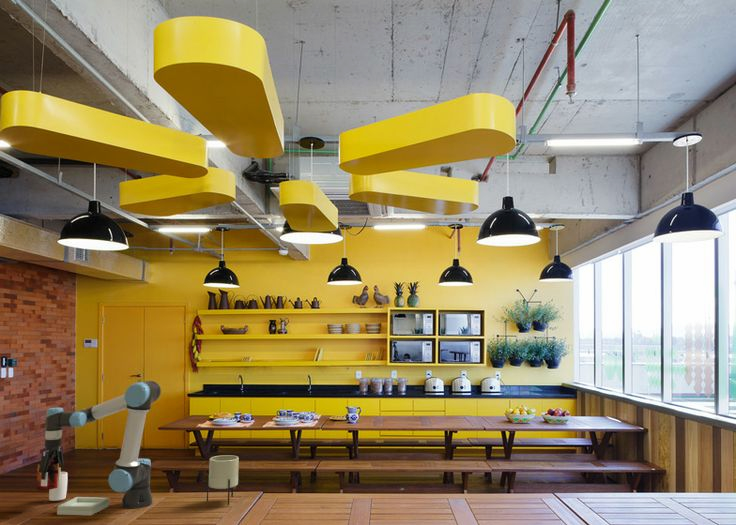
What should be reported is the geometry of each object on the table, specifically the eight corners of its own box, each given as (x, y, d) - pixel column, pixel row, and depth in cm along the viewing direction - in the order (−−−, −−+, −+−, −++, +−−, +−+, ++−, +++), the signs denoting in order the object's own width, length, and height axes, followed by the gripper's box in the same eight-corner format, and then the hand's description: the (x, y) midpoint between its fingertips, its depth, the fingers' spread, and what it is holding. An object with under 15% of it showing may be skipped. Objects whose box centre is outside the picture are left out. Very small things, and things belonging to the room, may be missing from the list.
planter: (243, 500, 304) (245, 456, 307) (225, 508, 290) (226, 462, 293) (221, 497, 310) (222, 453, 313) (201, 504, 296) (203, 459, 299)
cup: (44, 502, 298) (46, 474, 299) (55, 498, 306) (57, 471, 308) (58, 503, 296) (60, 475, 298) (69, 499, 304) (71, 471, 306)
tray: (109, 505, 293) (109, 497, 293) (92, 515, 277) (92, 507, 278) (75, 504, 294) (76, 496, 295) (57, 514, 278) (57, 506, 279)
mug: (55, 490, 282) (57, 466, 284) (31, 490, 285) (33, 465, 286) (69, 485, 292) (70, 461, 293) (45, 485, 294) (47, 461, 296)
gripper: (59, 434, 303) (57, 477, 300) (32, 442, 281) (28, 489, 278) (73, 434, 302) (70, 477, 299) (46, 442, 280) (43, 489, 277)
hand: (50, 483), depth 289 cm, fingers closed on mug, 10 cm apart
